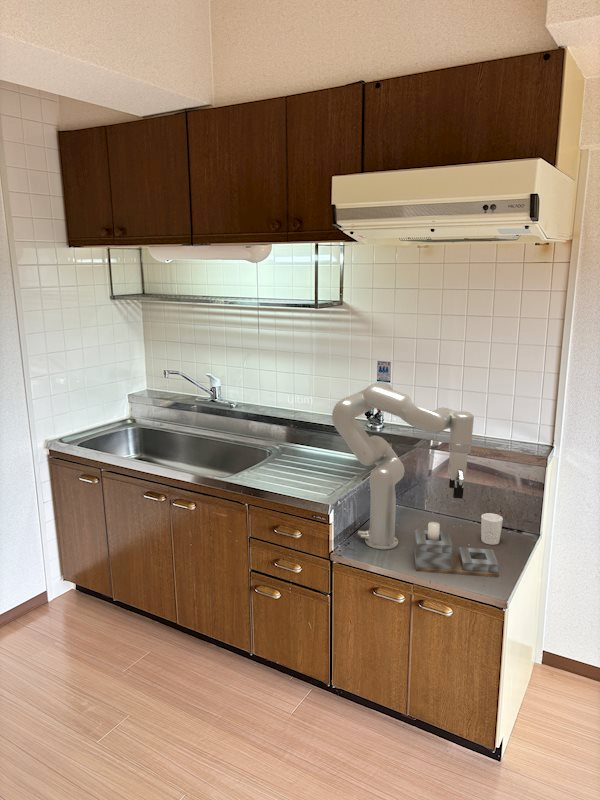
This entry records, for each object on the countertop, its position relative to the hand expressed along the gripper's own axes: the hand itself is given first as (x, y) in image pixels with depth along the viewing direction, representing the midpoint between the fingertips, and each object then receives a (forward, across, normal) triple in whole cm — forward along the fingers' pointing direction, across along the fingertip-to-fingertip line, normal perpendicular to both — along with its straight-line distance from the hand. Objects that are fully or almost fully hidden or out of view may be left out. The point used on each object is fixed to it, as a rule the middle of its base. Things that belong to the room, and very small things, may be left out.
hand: (455, 492), depth 218 cm
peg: (+19, +4, -7) cm, 20 cm away
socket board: (+26, +4, +1) cm, 26 cm away
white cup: (+26, -17, +18) cm, 36 cm away
